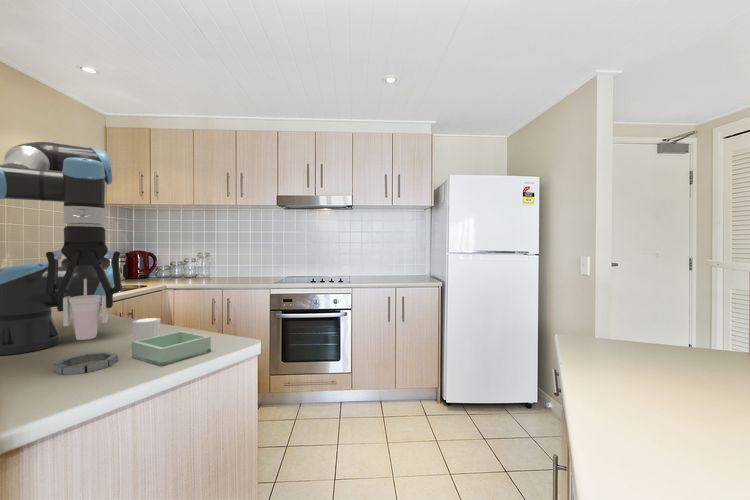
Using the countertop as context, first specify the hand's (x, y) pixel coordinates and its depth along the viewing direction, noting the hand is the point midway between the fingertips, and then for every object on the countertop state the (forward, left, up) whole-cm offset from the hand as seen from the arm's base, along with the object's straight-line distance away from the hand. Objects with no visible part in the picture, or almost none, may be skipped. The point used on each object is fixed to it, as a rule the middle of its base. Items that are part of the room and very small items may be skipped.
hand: (86, 323), depth 83 cm
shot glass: (-6, +17, -10) cm, 21 cm away
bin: (+10, +15, -10) cm, 20 cm away
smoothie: (0, 0, -4) cm, 4 cm away
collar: (+1, 0, -10) cm, 10 cm away
